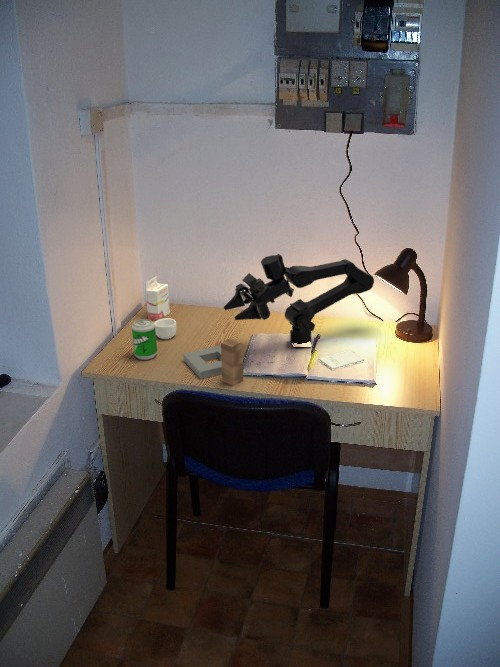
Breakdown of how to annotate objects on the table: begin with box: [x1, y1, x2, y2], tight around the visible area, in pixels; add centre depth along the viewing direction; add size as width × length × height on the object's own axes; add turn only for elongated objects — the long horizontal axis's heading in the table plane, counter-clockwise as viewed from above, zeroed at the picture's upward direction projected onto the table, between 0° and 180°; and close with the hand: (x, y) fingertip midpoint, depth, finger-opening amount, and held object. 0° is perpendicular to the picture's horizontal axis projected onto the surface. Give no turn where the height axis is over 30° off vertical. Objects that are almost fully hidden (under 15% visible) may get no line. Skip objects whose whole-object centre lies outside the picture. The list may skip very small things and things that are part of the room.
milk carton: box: [145, 275, 171, 321], centre depth 245 cm, size 9×5×15 cm, turn 157°
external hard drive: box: [317, 349, 366, 370], centre depth 210 cm, size 2×8×12 cm
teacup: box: [153, 317, 177, 340], centre depth 230 cm, size 10×8×5 cm
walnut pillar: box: [220, 337, 244, 387], centre depth 197 cm, size 4×4×13 cm
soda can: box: [131, 318, 158, 361], centre depth 214 cm, size 8×8×12 cm
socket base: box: [182, 344, 222, 380], centre depth 209 cm, size 14×14×2 cm
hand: (229, 313), depth 207 cm, fingers open, 9 cm apart
